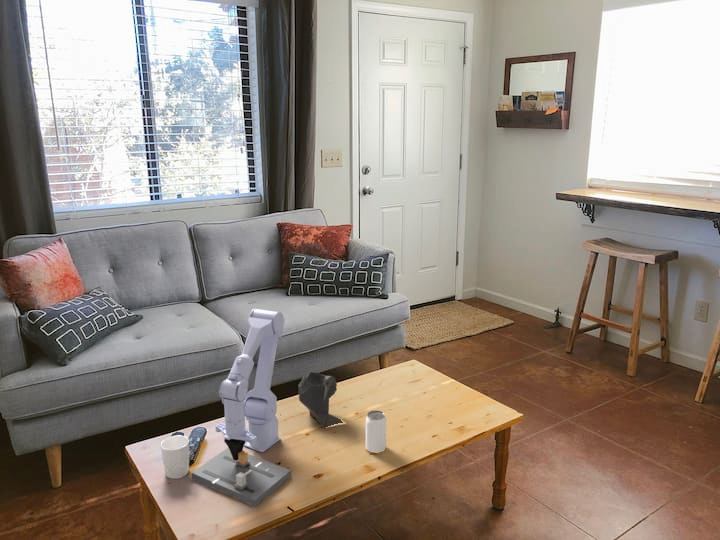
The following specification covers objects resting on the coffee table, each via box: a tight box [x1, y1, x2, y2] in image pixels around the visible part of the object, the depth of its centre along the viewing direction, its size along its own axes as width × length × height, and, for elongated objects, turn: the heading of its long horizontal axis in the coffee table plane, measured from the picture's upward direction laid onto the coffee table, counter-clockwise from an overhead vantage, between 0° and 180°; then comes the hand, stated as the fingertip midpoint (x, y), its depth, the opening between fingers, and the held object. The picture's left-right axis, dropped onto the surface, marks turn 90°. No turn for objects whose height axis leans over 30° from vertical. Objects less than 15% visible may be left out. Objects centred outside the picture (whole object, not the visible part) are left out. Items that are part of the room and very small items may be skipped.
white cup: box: [160, 434, 190, 480], centre depth 174 cm, size 8×8×10 cm
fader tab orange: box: [236, 450, 250, 467], centre depth 176 cm, size 3×3×4 cm
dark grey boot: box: [297, 369, 343, 429], centre depth 205 cm, size 14×15×18 cm
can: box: [365, 410, 387, 453], centre depth 187 cm, size 6×6×12 cm
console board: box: [190, 447, 292, 507], centre depth 173 cm, size 16×24×2 cm
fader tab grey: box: [234, 472, 249, 490], centre depth 165 cm, size 3×3×4 cm
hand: (237, 458), depth 177 cm, fingers closed
